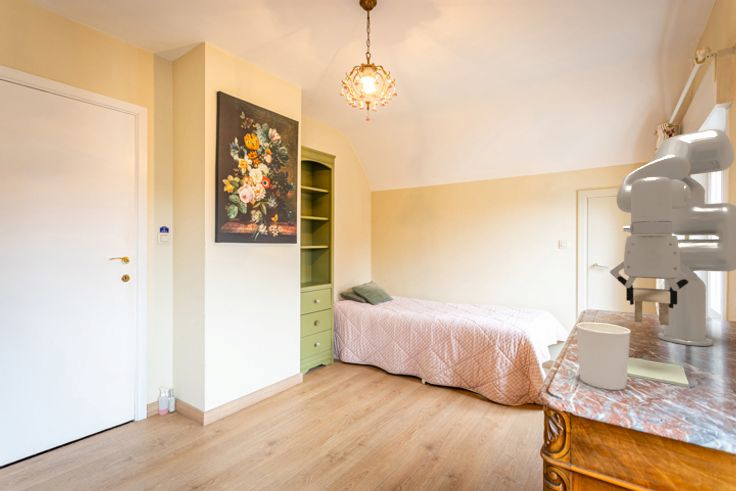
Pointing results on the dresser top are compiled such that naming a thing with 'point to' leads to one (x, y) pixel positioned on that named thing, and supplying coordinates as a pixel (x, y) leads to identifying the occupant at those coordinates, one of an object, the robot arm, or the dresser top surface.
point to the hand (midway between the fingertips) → (650, 305)
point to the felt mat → (657, 371)
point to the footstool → (652, 296)
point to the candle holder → (603, 354)
